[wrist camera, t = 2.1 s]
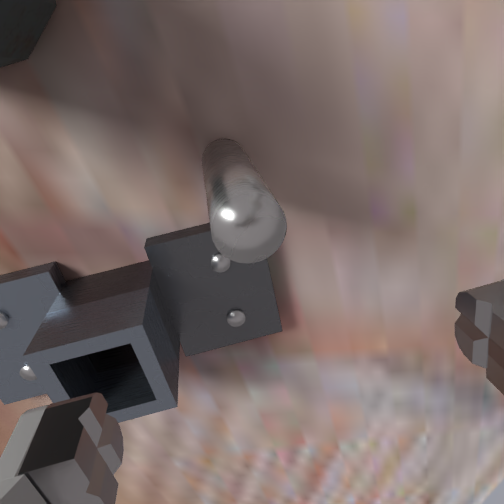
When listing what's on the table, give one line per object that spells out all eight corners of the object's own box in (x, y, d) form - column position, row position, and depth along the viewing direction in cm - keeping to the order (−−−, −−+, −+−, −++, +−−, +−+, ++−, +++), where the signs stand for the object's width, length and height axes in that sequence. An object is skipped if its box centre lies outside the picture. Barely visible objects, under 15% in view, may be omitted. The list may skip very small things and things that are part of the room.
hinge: (254, 211, 27) (277, 261, 20) (278, 320, 32) (304, 392, 25) (-58, 290, 27) (-148, 371, 19) (12, 390, 31) (-40, 485, 24)
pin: (241, 133, 25) (279, 184, 14) (250, 177, 26) (291, 253, 16) (196, 144, 25) (202, 203, 14) (208, 187, 26) (221, 271, 16)
